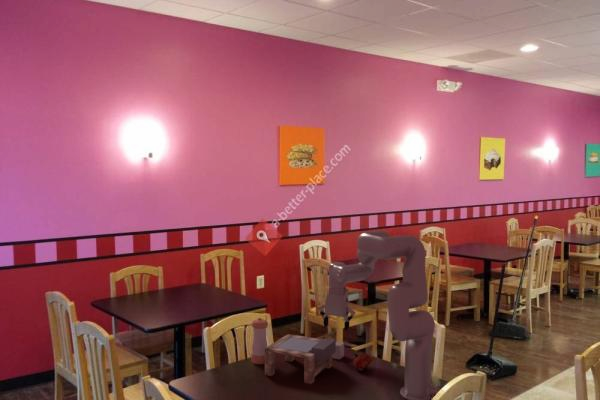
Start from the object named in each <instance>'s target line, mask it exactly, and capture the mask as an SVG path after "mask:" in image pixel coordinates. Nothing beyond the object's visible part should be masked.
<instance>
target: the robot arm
mask: <svg viewBox="0 0 600 400" xmlns="http://www.w3.org/2000/svg"><path fill="white" fill-rule="evenodd" d="M356 246H357V250H356V257H357V259H358V261H359V262H358V263H354V264H346V263H345V262H341V261H332V262H330V263H329V264H328V265H329V266H328V291H327V293H326V297H325V301H324V302H325V303H324V304H323V305H321V306H319V307H318V311H319V313H320V316H322V319H323V325H324V326H323V327H324V328H326V327H328V326H329V316H333V317H338V318H343V319H344V329H343V330H344V331H348V330H349V328H350V321H351V320H352V319H353V318H354V317H355V315H356V311H354V310H353V309H351V307H349V295H348V293H349V289H348V288H347V287H346V284H348V283H349V284H350V283H356V282H361V281H364V280H365V279H367V278H368V277H369V276H370V275H371V274H372V273H373V272H374V270H375V266H376V262H377V261H378V260H379V259H380V260H385V261H388V260H396V259H397V260H398V259H403V258H404V259H405V261H404V263H403V266H402V271H401V272H402V282H401V283H395V284H393V285H392V286H391V287H390V288H389V290H388V292H387V297H386V299H387V300H386V302H387V312H388V314H387V315H388V323H389V330H390V333H391V335H392V337H393V338H394V339H395V340H396V341H398V342H405V348H404V386H403V387H401V388H400V392H399V393H400V395H401V396H402V398H403V399H406V400H430V399H431V398H433V396H434V395H435V394H436V393H437V392H438V391H439V390H440V389H441V388H440V387H436V386H434V382H432V345H433V337H434V333H435V325H436V323H435V319H434V316H433V315H432V314H431V313H430V312H429V311H427V310H423V309H418V310H411V311H410V309H414V308H415V309H416V308H419V307H422V306H424V305H426V304H427V303H428V299H429V293H428V283H427V273H426V272H427V271H426V255H427V254H426V250H425V249H426V248H425V246H424V243H423V242H422V241H421V240H420V238H418V237H417V236H414V235H410V234H408V235H407V234H406V235H403V234H402V235H401V234H400V235H393V236H391V234H390V233H389V232H387V231H385V230H373V231H372V230H371V231H370V230H369V231H364V232H363V233H360V235H359V236H358V237H357V239H356ZM323 309H324V310H323ZM349 313H350V315H349ZM441 390H442V389H441ZM435 396H436V395H435Z"/></svg>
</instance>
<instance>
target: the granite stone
mask: <svg viewBox="0 0 600 400" xmlns="http://www.w3.org/2000/svg"><path fill="white" fill-rule="evenodd" d="M344 356H345V342H341V341H336V352H335V353H334V354H332V359H334V360H341V359H342V358H344Z"/></svg>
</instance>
